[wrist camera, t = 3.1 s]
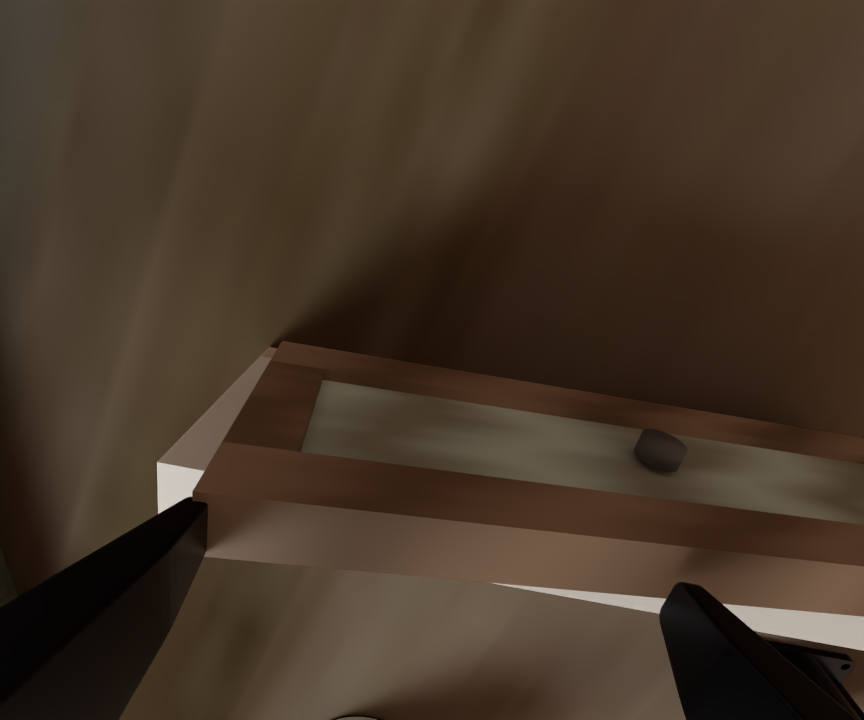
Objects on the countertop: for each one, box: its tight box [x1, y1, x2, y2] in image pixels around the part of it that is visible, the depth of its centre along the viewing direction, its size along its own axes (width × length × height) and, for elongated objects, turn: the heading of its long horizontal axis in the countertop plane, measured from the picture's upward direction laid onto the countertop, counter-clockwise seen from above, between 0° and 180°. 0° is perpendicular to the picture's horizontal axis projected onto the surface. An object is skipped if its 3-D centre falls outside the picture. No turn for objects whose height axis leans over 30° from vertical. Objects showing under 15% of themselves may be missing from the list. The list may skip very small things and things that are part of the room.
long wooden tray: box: [157, 347, 864, 651], centre depth 17 cm, size 26×6×8 cm, turn 78°
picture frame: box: [192, 341, 864, 617], centre depth 13 cm, size 22×2×7 cm, turn 78°
